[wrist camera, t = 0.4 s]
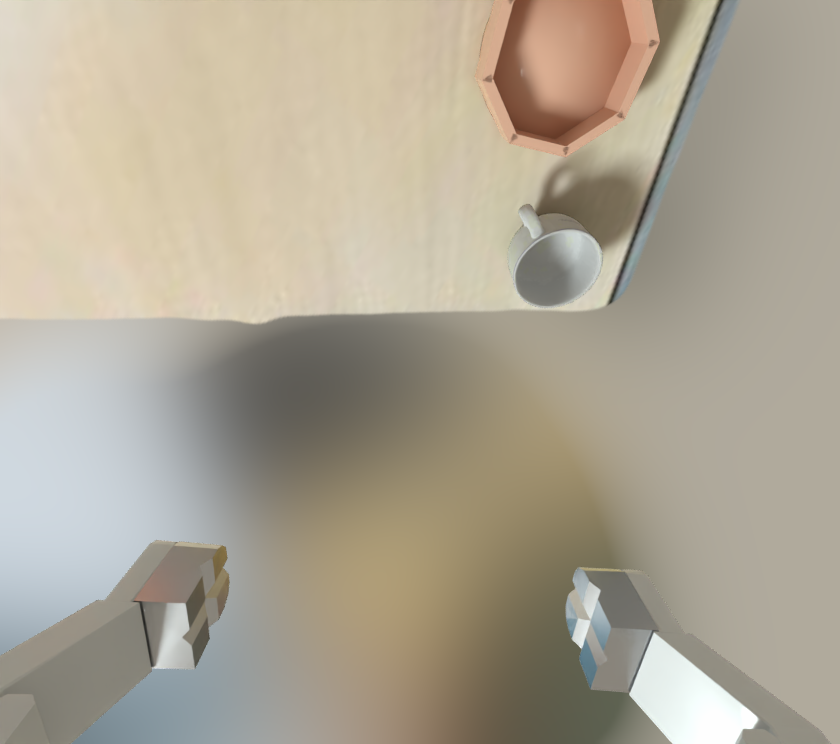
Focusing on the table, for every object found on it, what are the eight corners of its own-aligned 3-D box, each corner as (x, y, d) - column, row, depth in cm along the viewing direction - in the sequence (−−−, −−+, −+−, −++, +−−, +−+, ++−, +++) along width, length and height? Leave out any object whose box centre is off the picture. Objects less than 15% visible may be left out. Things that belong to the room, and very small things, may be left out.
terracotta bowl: (451, 27, 42) (458, 28, 39) (607, -97, 38) (631, -108, 35) (516, 170, 52) (526, 182, 48) (647, 85, 47) (669, 90, 44)
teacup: (584, 262, 61) (608, 290, 54) (511, 292, 63) (526, 322, 56) (566, 166, 52) (592, 186, 46) (482, 204, 54) (496, 228, 48)
